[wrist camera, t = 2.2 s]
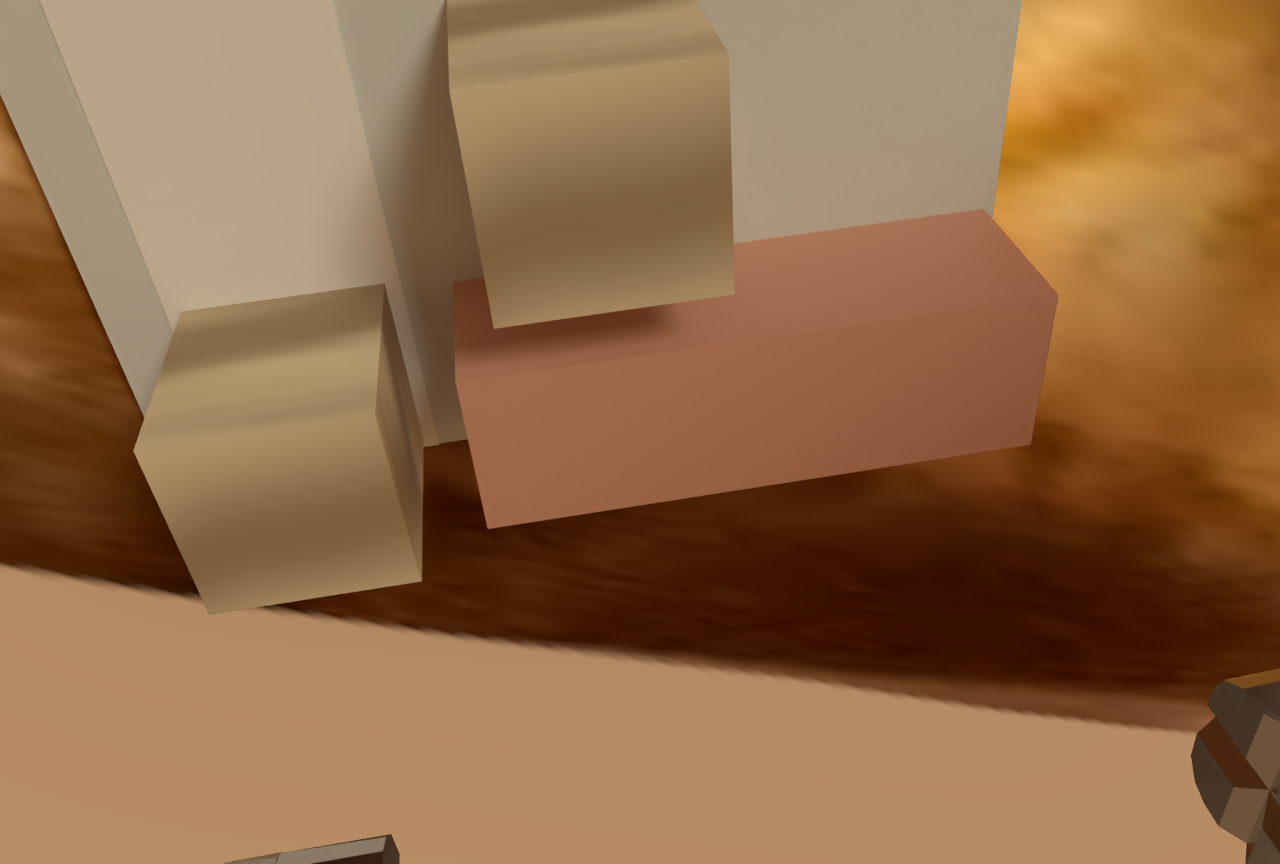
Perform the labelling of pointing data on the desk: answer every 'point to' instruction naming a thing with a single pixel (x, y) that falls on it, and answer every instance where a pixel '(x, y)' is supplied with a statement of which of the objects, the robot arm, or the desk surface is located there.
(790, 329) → the lintel
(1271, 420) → the desk surface
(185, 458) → the pillar
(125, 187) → the blueprint mat
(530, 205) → the pillar
